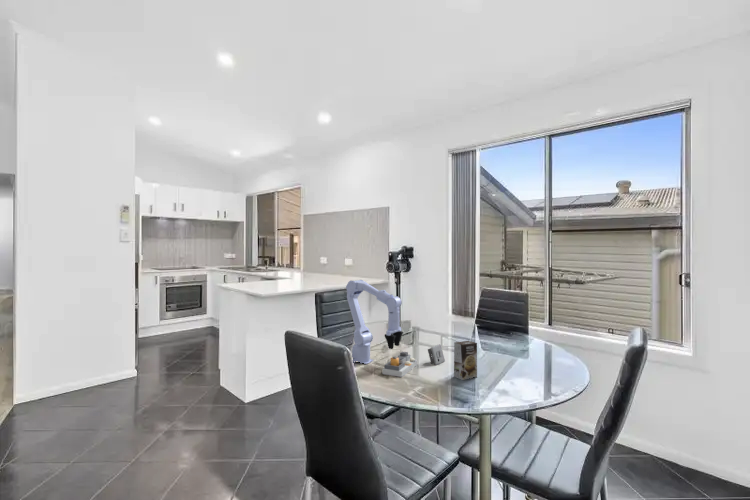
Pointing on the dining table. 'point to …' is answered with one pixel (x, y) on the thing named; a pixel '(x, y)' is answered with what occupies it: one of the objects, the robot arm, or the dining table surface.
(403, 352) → the block
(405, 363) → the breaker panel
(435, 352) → the electrical switch
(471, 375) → the coffee box
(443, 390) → the dining table surface
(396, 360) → the cap
